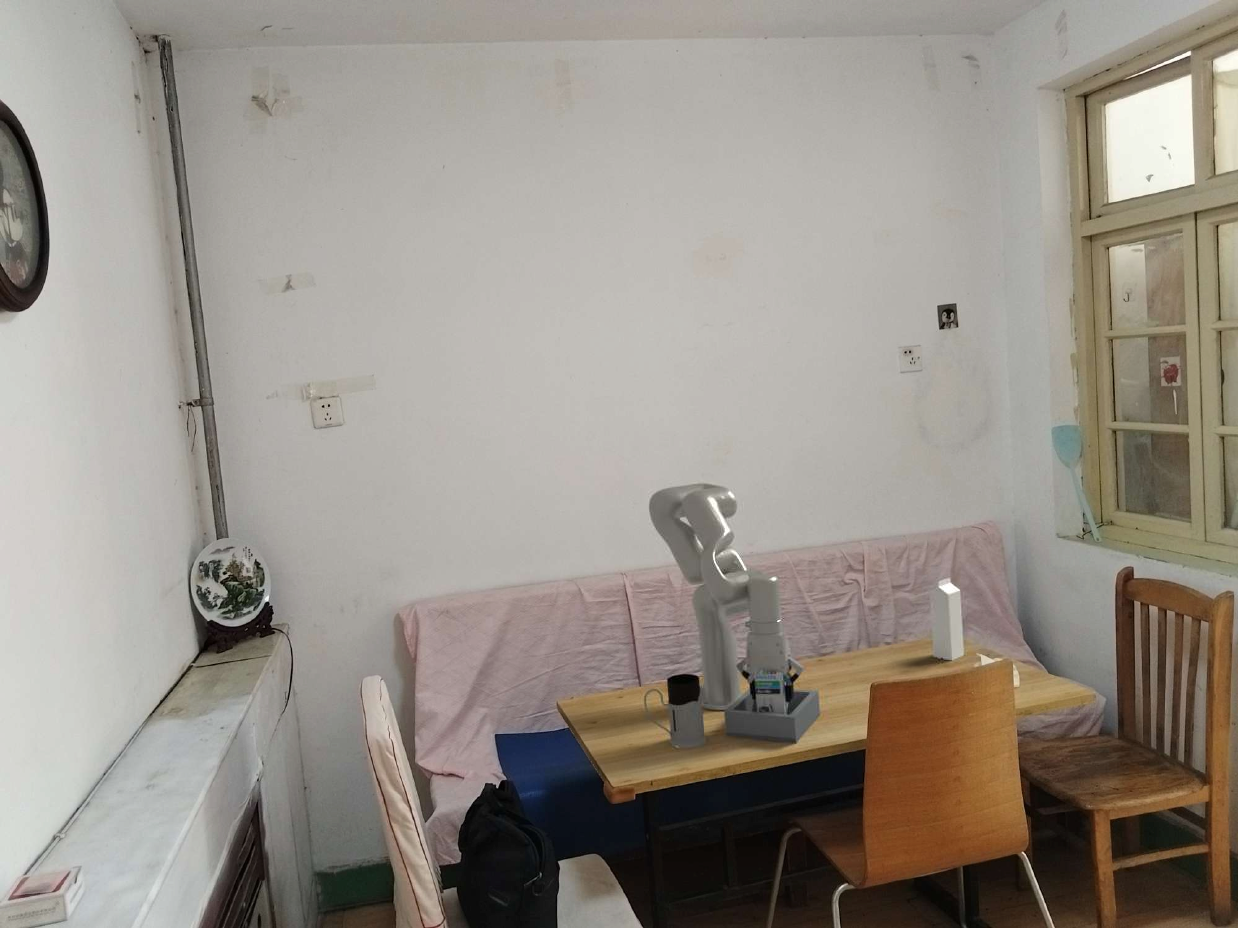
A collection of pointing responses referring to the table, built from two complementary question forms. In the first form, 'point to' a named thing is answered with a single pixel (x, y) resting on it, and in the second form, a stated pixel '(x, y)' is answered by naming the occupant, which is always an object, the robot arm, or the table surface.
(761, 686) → the light bulb box
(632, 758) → the table surface
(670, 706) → the glass holder
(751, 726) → the box
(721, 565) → the robot arm
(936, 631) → the milk
